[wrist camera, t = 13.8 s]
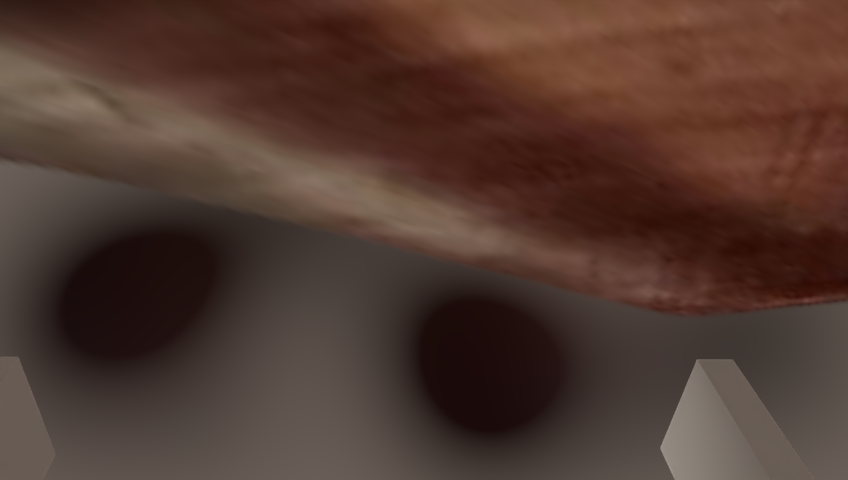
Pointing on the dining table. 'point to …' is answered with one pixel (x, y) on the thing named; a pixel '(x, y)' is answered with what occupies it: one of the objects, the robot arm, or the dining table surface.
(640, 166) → the dining table surface
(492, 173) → the dining table surface
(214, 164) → the dining table surface
